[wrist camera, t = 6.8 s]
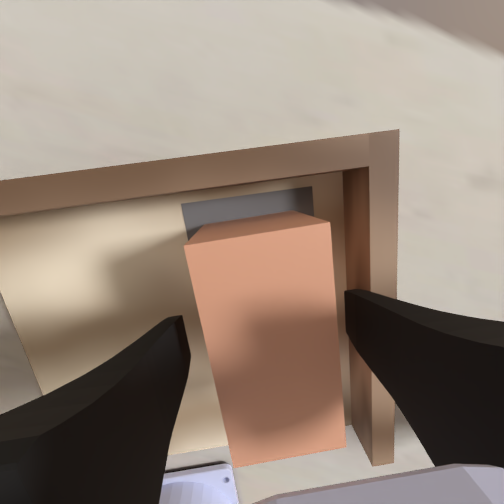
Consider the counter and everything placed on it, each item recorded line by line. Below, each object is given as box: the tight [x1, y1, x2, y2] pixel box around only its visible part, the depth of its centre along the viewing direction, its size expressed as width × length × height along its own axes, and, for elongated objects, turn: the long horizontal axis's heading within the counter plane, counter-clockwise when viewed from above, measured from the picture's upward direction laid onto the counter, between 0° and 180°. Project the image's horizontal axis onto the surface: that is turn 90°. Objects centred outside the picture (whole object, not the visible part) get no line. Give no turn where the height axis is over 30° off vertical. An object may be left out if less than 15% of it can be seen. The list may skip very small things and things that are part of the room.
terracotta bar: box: [184, 210, 346, 468], centre depth 11 cm, size 9×4×5 cm, turn 9°
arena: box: [0, 129, 399, 466], centre depth 13 cm, size 17×19×4 cm
